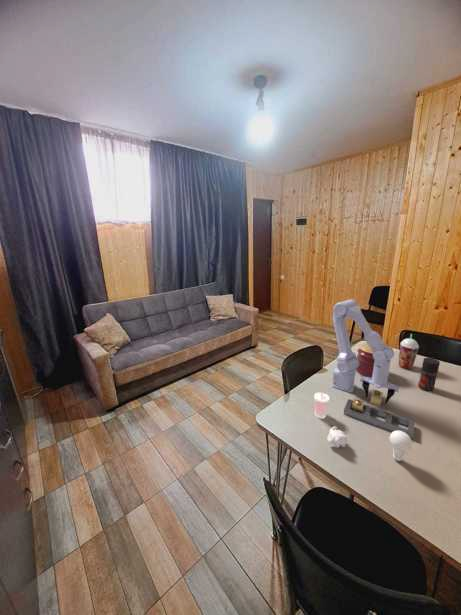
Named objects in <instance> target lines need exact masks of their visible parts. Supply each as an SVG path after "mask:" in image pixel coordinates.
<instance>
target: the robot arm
mask: <svg viewBox="0 0 461 615" xmlns="http://www.w3.org/2000/svg"><path fill="white" fill-rule="evenodd" d="M332 309H333V313H332V323H333V327H334V331H335V337H336V341H337V342H336V343H337V345H338V346H337V347H338V350H339V354H338V355H337V358H336V362H337V363H336V367H335V368H334V371H333V376H332V385H331V387H333V388H336V389H338V390H341V391H344V392H345V391H346V392H348V393H351V394H353V393H354V390H355V388H356V386H357V384H356V383H355V378H356V372H357V371H356V368H357V367H358V366H359V360H358V359H357V354H356V353H355V352H353V350H352V346H351V341H350V336H349V332H348V327H347V322H346V320H347V319H350V320H353V321H354V322H355V324H356V325H357V326H358V327H359V329H360V330H361V331H362V333H363V334H364V337H363V339H364V341H365V342H366V343H368V345H369V346H370V348H371V349H372V351H373V352H374V354H373V358H374V360H375V362H374V369H373V375H372V378H371V377H365V376H363V375H361V376H360V379H359V381H360V382H359V383H361V384H362V385H361V386H362V388H363V391H364V394H365V398H366V399H367V398H368V396H369V392H370V391H369V389H370V385H372V386H374V387H375V388H377V389H381V388H382V389H387V394H386V397H385V403H384V404H385V405H388V402H389V401H390V399H391V398H393V396H395V393H399V387H400V386H399V385H396V384H393V383H391V382H390V381H388V378H389V373H390V372H389V371H390V367H391V360H392V359H393V358H394V357H395V351H394V349H393V348H392V347H391V346H389V345H387V344H386V343H385V341H383V338H382V337H381V335H380V333H378V331H375V330H373V329H372V328H371V326H370V324H369V323H368V321H367V319H366V317H365V316H364V314H363V312H362V309H361V307H360V305H359V304H358V302H357V301H356V300H355V299H353V298H349V299H347V300H343V301H339V302H337V303H336V304H335V305H334V306H333V307H332Z"/></svg>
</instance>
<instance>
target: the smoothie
mask: <svg viewBox="0 0 461 615" xmlns="http://www.w3.org/2000/svg"><path fill="white" fill-rule="evenodd" d="M412 337H413V334H412V333H410V336H409V338H405V339H403V340H402V341H400V343H399V344H400V345H399V354H398V365H399V367H400V368H401V369H404V370H412V369H413V368H414V364H415V361H416V358H417V354H418V351H419V348H420V346H419V344H418V343H419V342H417V341H416V340H415V339H414V338H412Z"/></svg>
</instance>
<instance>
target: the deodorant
mask: <svg viewBox="0 0 461 615" xmlns="http://www.w3.org/2000/svg"><path fill="white" fill-rule="evenodd" d="M439 367H440V360H438V359H436V358H432V357H424V358H423V361H422V366H421V370H420V371H421V372H420V376H419V380H418V384H417V387H418V389H420V390H421V391H424V392H428V393H433V392H434V389H435V385H436V381H437V377H438V374H439V372H438V371H439Z"/></svg>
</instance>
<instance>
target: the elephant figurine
mask: <svg viewBox="0 0 461 615" xmlns="http://www.w3.org/2000/svg"><path fill="white" fill-rule="evenodd" d="M337 428H338V427H337V426H336V425H335V426H332V427H331V428H329V433H328V436H327V437H326V440H327V444H330V445H332V444H335V447H336V448H338V449H339V448H340V447H341V448H345V447H346V445H347V443H348V438H347V437H349V436H350V435H349V434H348V435H346V434H345V433H344V431H342V430H340V429H337Z"/></svg>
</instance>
